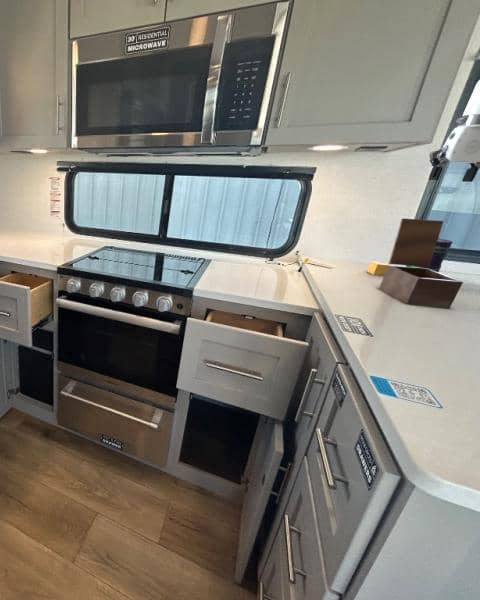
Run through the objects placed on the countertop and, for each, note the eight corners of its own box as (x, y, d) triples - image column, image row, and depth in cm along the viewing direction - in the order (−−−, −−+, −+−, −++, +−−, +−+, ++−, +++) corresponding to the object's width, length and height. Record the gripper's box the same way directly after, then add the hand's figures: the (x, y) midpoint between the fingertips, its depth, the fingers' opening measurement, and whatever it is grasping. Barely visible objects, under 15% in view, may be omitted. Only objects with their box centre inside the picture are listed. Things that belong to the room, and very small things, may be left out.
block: (379, 272, 137) (383, 262, 135) (385, 275, 133) (390, 265, 131) (367, 271, 138) (371, 261, 136) (373, 274, 134) (377, 264, 132)
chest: (449, 308, 103) (463, 282, 99) (406, 304, 105) (418, 278, 101) (416, 292, 116) (427, 268, 112) (378, 288, 118) (388, 265, 114)
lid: (443, 220, 108) (441, 221, 109) (403, 218, 110) (401, 218, 111) (429, 267, 112) (427, 267, 112) (389, 263, 114) (388, 263, 115)
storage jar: (404, 275, 134) (420, 239, 128) (401, 270, 141) (416, 235, 136) (438, 281, 129) (456, 243, 123) (433, 275, 136) (450, 239, 130)
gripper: (454, 120, 100) (428, 179, 107) (521, 122, 98) (491, 183, 104) (434, 123, 107) (411, 178, 114) (497, 124, 104) (470, 181, 111)
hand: (449, 180), depth 109 cm, fingers open, 9 cm apart
